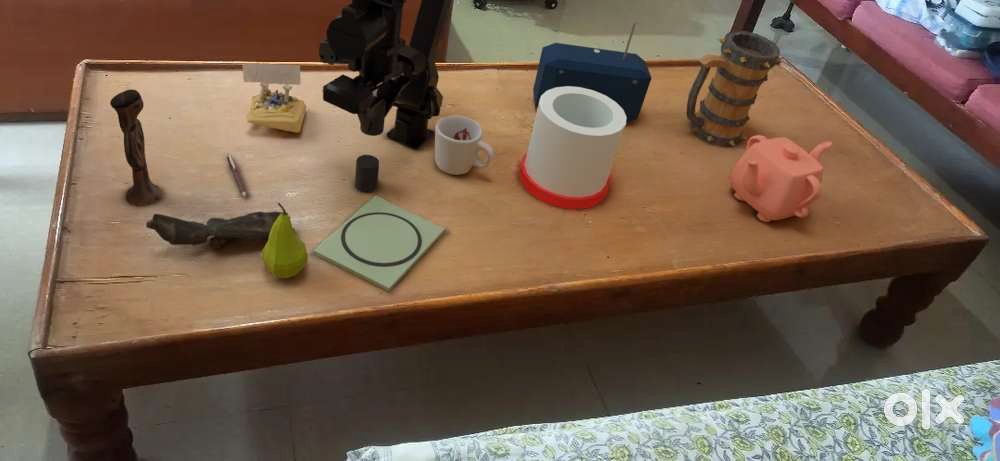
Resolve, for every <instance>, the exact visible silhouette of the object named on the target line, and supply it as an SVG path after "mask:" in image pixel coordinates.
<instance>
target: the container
mask: <svg viewBox="0 0 1000 461" xmlns="http://www.w3.org/2000/svg"><path fill="white" fill-rule="evenodd" d="M626 118H627V117H626V115H625V113H624V110H623V109H622V108H621V107H620V106H619V105H618V104H617V103H616V102H615V101H613V100H612V99H610V98H609V97H607V96H606V95H603V94H601V93H598V92H596V91H593V90H589V89H585V88H581V87H571V86H565V87H556V88H553V89H550V90H547V91H546V92H545V93H544V94H543V95H541V98H540V101H539V105H538V108H537V109H536V114H535V118H534V122H533V127H532V131H531V135H530V138H529V143H528V148H527V151H526V153H525V154H523V155H522V159H521V163H520V167H519V171H518V176H519V180H520V183H521V184H522V186H523V188H524V189H526V191H527V193H530V195H532V196H533V197H534V198H536V199H537V200H539V201H541V202H543V203H546V204H547V205H549V206H553V207H558V208H561V209H565V210H566V209H568V210H583V209H587V208H593V207H594V206H596V205H598V204H600V203H601V202H602V201H603V200H604V198H606V197H607V194H608V190H609V188H610V183H611V176H610V173H611V171H612V167H613V164H614V161H615V158H616V155H617V152H618V149H619V146H620V143H621V140H622V138H623V134H624V132H625V128H626V124H627V123H626Z"/></svg>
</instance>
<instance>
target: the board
mask: <svg viewBox="0 0 1000 461" xmlns="http://www.w3.org/2000/svg"><path fill="white" fill-rule="evenodd" d="M445 232H446V228H445V227H444V226H441V225H440V224H437V223H435V222H432V221H431V220H428V219H426V218H424V217H423V216H420V215H417V214H416V213H413V212H411V211H410V210H407V209H405V208H403V207H401V206H398V205H397V204H394V203H392V202H390V201H388V200H385V199H384V198H381V197H379V196H378V195H374V196H372V198H370V199H369V200H368V201H367V202H366V203H365V204H364V205H362V207H361V208H359V209H358V210H357V211H356V212H354V213H353V215H352V216H351V215H350V217H349V218H348V219H347V220H346V221H344V222H343V223H342V224H341V225H340V226H339V227H338V228H336V229H335V230H334V231H333V232H332V233H331V234H330V235H328V236H327V238H325V239H324V240H323V241H322V242H321V243H320V244H318V245H317V246H316V247H315V248H314V249H313V250H312V251H313V252H312V254H313V255H314V256H316V257H318V258H320V259H322V260H324V261H326V262H328V263H330V264H333V265H334V266H336V267H338V268H340V269H342V270H344V271H346V272H348V273H350V274H351V275H354V276H356V277H358V278H360V279H362V280H364V281H366V282H368V283H370V284H372V285H374V286H376V287H378V288H379V289H382V290H384V291H386V292H389V293H390V292H391V290H392V289H393V288H395V286H396V285H397V284H398V283H399V282H400V281H401V280H402V279H403V277H404V276H406V275H407V273H408V272H409V271H410V270H411V269H412V268H413V267H414V266H415V265H416V263H417V262H418V261H419V260H420V259H421V258H422V257H423V256H424V255H425V254H426V253H427V252H428V251H429V250H430V249H431V248H432V246H433V245H434V244H435V243H436V242H437V241H438V240H439V239H440V238H441V237H442V236H443V234H445Z"/></svg>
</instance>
